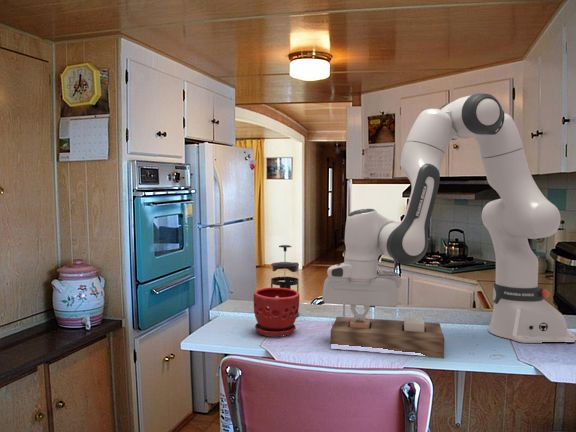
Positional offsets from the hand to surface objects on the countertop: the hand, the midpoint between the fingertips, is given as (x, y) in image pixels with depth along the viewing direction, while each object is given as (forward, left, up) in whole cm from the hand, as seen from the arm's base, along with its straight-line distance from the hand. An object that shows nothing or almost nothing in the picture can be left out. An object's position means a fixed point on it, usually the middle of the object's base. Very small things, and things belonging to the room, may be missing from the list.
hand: (359, 321), depth 133 cm
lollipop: (+6, -17, -6) cm, 19 cm away
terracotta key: (0, 0, -4) cm, 4 cm away
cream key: (-14, 0, -3) cm, 14 cm away
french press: (+26, -24, -6) cm, 36 cm away
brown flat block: (-7, 0, -6) cm, 9 cm away
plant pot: (+24, -4, -6) cm, 25 cm away
